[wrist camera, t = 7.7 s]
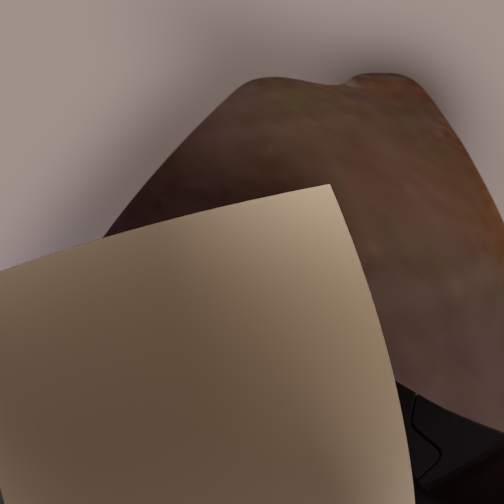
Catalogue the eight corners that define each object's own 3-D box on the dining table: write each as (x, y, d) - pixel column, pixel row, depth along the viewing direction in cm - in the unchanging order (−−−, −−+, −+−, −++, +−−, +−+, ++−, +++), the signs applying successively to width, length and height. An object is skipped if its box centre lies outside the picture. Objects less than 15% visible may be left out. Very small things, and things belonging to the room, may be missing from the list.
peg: (321, 441, 12) (416, 598, 1) (228, 456, 12) (32, 573, 1) (303, 355, 14) (329, 183, 3) (213, 372, 14) (-4, 273, 3)
